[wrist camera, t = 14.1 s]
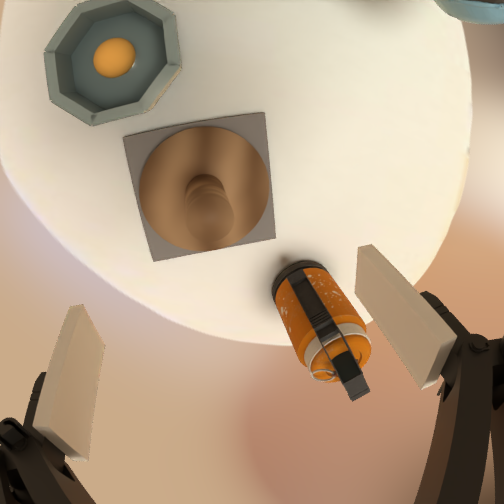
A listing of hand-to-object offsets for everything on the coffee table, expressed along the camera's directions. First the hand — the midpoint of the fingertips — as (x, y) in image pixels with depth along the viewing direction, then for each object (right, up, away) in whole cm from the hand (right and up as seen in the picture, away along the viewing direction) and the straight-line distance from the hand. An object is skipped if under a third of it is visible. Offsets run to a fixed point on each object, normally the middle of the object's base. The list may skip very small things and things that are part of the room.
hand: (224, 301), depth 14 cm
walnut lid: (-4, +9, +22) cm, 24 cm away
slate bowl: (-13, +23, +13) cm, 30 cm away
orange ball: (-12, +21, +11) cm, 27 cm away
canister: (+8, -2, +32) cm, 33 cm away
